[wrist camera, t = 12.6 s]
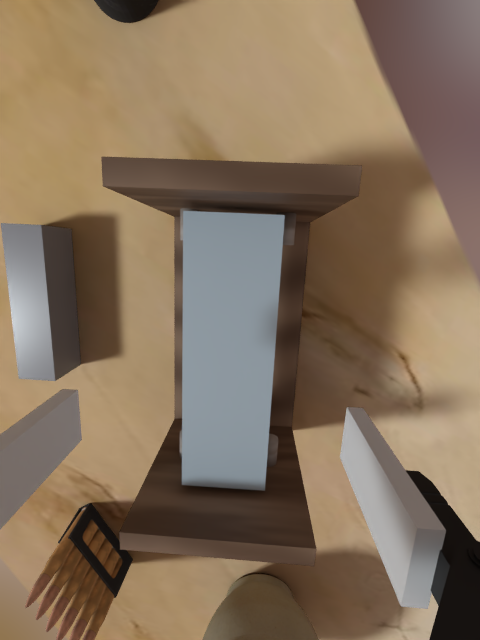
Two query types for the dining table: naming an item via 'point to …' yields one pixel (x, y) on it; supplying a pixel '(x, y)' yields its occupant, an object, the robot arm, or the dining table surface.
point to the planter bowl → (259, 613)
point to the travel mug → (127, 9)
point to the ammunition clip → (82, 575)
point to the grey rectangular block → (42, 299)
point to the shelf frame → (282, 461)
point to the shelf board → (228, 345)
